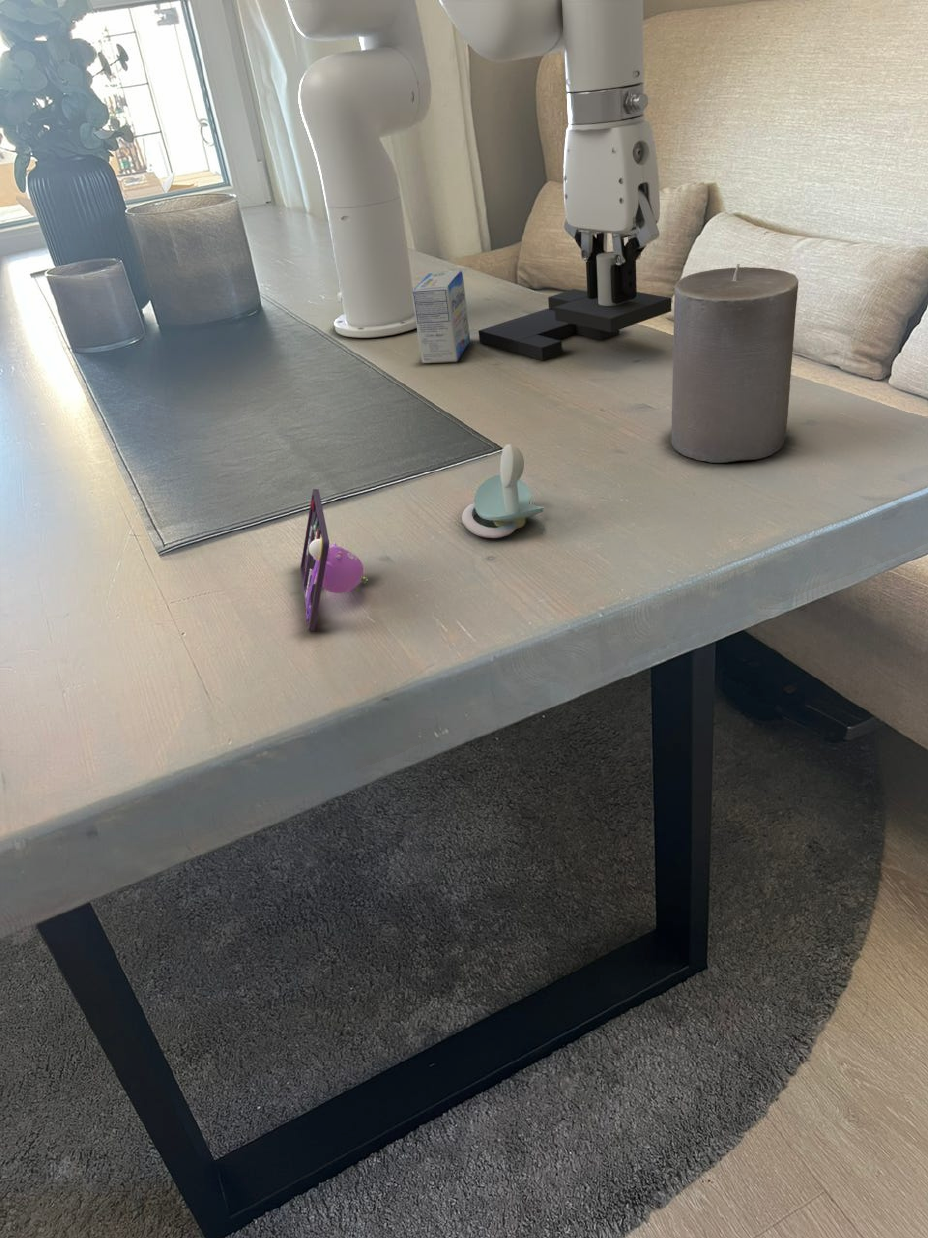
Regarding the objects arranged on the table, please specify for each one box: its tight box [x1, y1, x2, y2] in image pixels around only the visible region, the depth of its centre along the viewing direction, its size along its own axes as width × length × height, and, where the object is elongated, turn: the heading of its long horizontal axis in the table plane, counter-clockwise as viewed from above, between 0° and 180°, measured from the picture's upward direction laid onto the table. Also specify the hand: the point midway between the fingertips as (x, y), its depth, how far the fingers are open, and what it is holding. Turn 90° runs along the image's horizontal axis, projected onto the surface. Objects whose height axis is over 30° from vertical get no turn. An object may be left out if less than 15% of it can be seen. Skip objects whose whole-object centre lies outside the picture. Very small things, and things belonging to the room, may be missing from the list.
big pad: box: [478, 307, 620, 361], centre depth 113 cm, size 12×12×2 cm
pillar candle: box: [670, 263, 799, 464], centre depth 78 cm, size 10×10×15 cm
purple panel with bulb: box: [299, 488, 369, 632], centre depth 66 cm, size 7×5×9 cm
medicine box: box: [412, 270, 471, 364], centre depth 111 cm, size 8×4×9 cm, turn 168°
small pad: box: [547, 250, 672, 332], centre depth 103 cm, size 13×9×6 cm
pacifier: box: [461, 443, 544, 539], centre depth 72 cm, size 7×6×6 cm
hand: (611, 296), depth 102 cm, fingers closed on small pad, 3 cm apart
